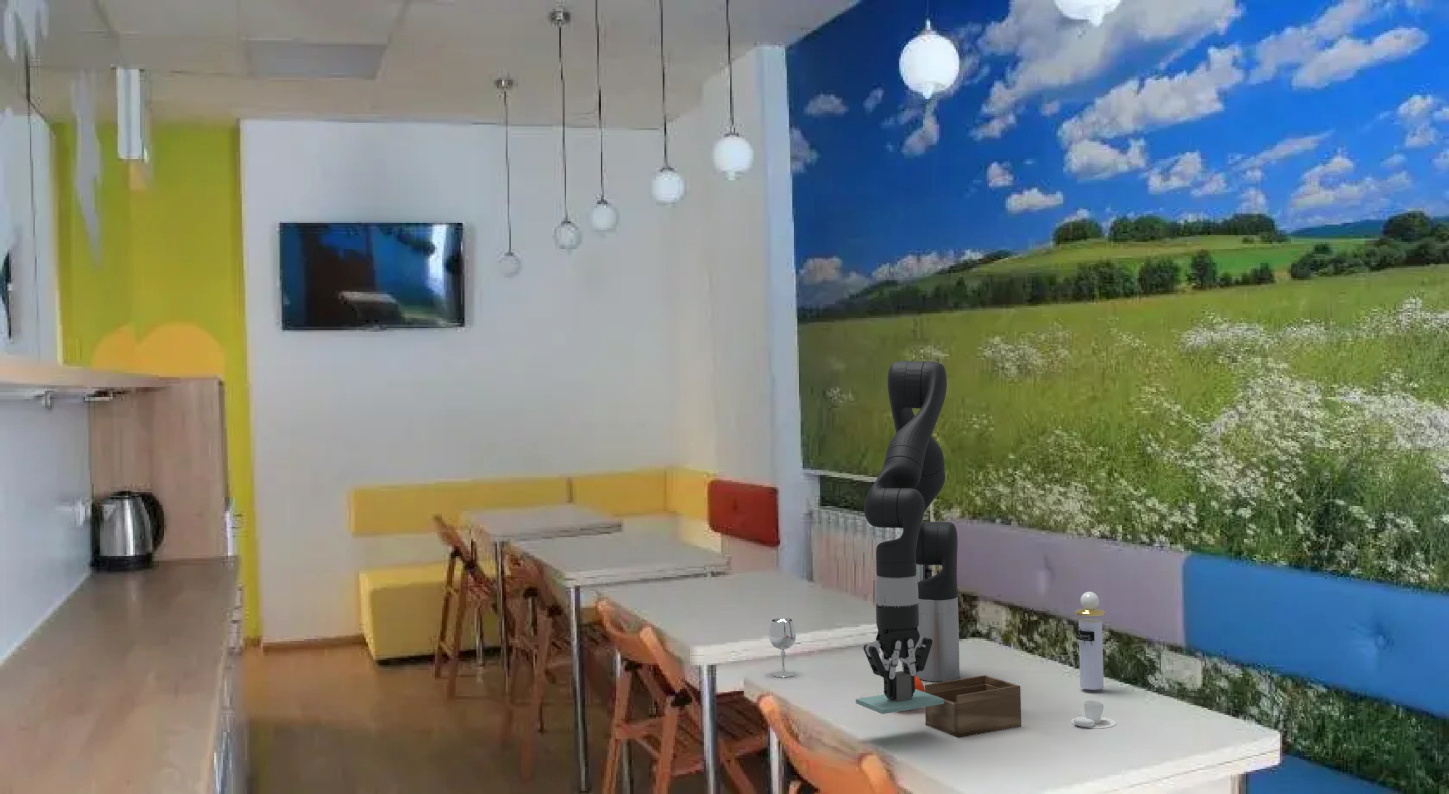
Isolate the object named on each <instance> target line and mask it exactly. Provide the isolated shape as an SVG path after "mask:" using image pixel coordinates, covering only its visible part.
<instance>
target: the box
mask: <svg viewBox="0 0 1449 794" xmlns="http://www.w3.org/2000/svg"><path fill="white" fill-rule="evenodd" d="M924 689H925V693H928V694H931V695H934V696H937V697H939V698H942V699H944V704H940V705H934V706H928V707H924V708H925V709H924V710H925V711H924V712H925V714H924V715H925V717H924V719H925V725H926V726H927V727H931V728H933V729H935V730H938V731H941V732H943V733H946V734H949V735H951V736H953V737H956V738H958V739H961V738H966V737H971V736H976V735H977V736H978V735H982V734H987V733H993V732H997V731H1004V730H1009V729H1014V728H1020V727H1022V705H1021V703H1022V700H1021V699H1022V698H1021V685H1018V684H1016V683H1013V682H1012V683H1011V682H1009V681H1007V680H1003V679H999V678H996V677H993V676H990V675H987V674H983V675H978V676H977V675H976V676H973V677H972V676H971V677H965V678H958V679H956V680H951V681H938V682H934V683H933V682H932V683H926V684H924Z"/></svg>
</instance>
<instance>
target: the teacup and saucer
mask: <svg viewBox="0 0 1449 794" xmlns="http://www.w3.org/2000/svg"><path fill="white" fill-rule="evenodd" d="M1083 706H1084V707H1083V708H1084V716H1083V715H1082V716H1077V717H1074V718H1072V719H1071V721H1070V722H1071V724H1072V725H1075V726H1076V727H1077V726H1078V727H1081V728H1087V729H1108V728H1113V727H1115V726H1116V725H1117V721H1115V720H1114V719H1112V718H1109V717H1104V716H1103V712H1104V703H1103V702H1101V701H1099V700H1093V699H1091V700H1090V699H1088V700H1084V702H1083ZM1101 720H1104V721H1107V722H1109V724H1107V725H1105V726H1095V725H1098V724H1100V722H1101Z"/></svg>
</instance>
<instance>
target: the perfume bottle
mask: <svg viewBox="0 0 1449 794" xmlns="http://www.w3.org/2000/svg"><path fill="white" fill-rule="evenodd" d="M1079 603H1080V605H1081V607H1082V608H1077V609H1075V610H1074V613H1075V615H1078V616H1083V617H1101V616H1102V617H1103V616H1105V615H1106V611H1105V610H1104V609H1100V608H1098V606H1099V605H1100V599H1099V597H1098V594H1096V593H1095V592H1093V591H1086V592H1084V593H1083V594H1082V595H1081V596H1080V602H1079ZM1075 639H1076V642H1078V647H1079V649H1078V651H1079V656H1078V657H1079V686H1080V688H1082V689H1085V690H1093V691H1095V690H1102V689H1104V687H1105V686H1104V653H1103V651H1104V650H1103V649H1104V648H1103V647H1104V645H1103V621H1102V619H1099V618H1080V619H1078V625H1077V627H1076V628H1075Z"/></svg>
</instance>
